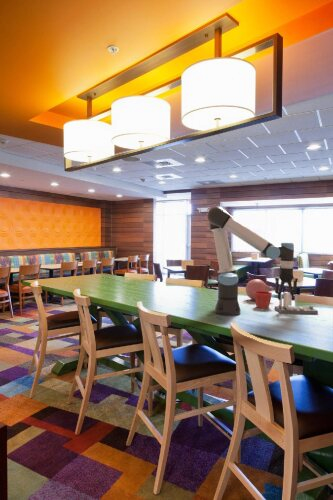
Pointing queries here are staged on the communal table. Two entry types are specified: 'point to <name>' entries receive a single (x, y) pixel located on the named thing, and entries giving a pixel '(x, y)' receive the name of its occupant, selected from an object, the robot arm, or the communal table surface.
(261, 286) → the balloon
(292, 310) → the console
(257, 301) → the flower pot
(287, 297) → the fader tab
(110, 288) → the communal table surface
